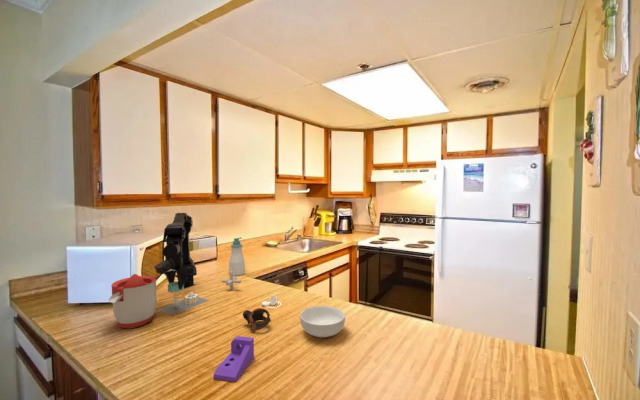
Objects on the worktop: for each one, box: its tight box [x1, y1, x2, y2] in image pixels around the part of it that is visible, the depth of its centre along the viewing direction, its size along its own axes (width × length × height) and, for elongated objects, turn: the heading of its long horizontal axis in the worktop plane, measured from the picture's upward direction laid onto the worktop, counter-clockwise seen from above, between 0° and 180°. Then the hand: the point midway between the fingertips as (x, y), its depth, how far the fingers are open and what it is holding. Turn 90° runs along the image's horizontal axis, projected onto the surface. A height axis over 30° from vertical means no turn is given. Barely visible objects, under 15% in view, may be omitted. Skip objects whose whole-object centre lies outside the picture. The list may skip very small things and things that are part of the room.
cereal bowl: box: [299, 305, 346, 338], centre depth 111 cm, size 17×17×7 cm
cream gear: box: [183, 293, 200, 305], centre depth 137 cm, size 6×6×3 cm
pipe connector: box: [221, 271, 242, 292], centre depth 157 cm, size 10×10×10 cm
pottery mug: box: [242, 307, 272, 333], centre depth 115 cm, size 12×10×8 cm
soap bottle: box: [228, 236, 246, 277], centre depth 186 cm, size 10×10×23 cm
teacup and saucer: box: [261, 295, 282, 309], centre depth 138 cm, size 9×8×4 cm
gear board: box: [157, 291, 210, 316], centre depth 134 cm, size 11×19×6 cm, turn 150°
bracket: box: [213, 335, 255, 383], centre depth 89 cm, size 12×7×7 cm, turn 168°
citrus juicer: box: [108, 273, 157, 329], centre depth 118 cm, size 16×17×20 cm
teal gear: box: [167, 280, 185, 293], centre depth 131 cm, size 6×6×3 cm
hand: (175, 287), depth 131 cm, fingers closed on teal gear, 6 cm apart
